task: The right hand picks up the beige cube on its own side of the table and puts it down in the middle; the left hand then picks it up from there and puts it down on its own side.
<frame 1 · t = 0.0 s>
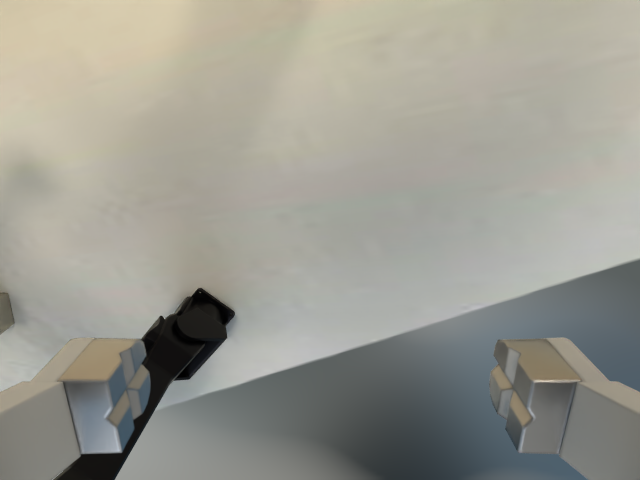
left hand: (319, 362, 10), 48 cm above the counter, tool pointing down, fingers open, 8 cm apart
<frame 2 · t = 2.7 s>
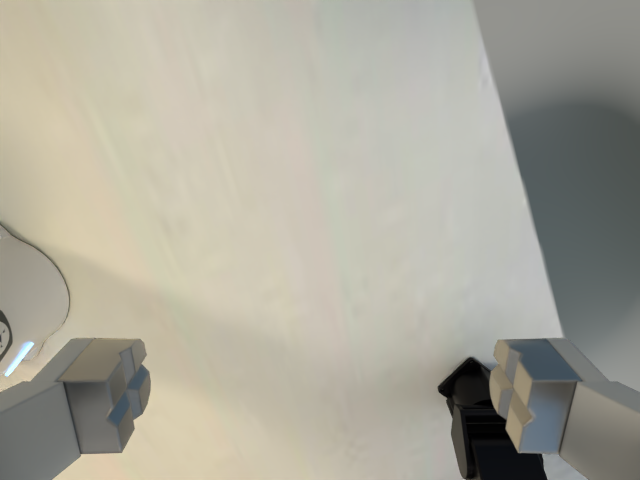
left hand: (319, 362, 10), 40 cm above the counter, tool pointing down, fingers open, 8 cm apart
when the right hand's fingers open (2 cm above the counter, at t = 6.4 s): beige cube stays where it is, on the counter.
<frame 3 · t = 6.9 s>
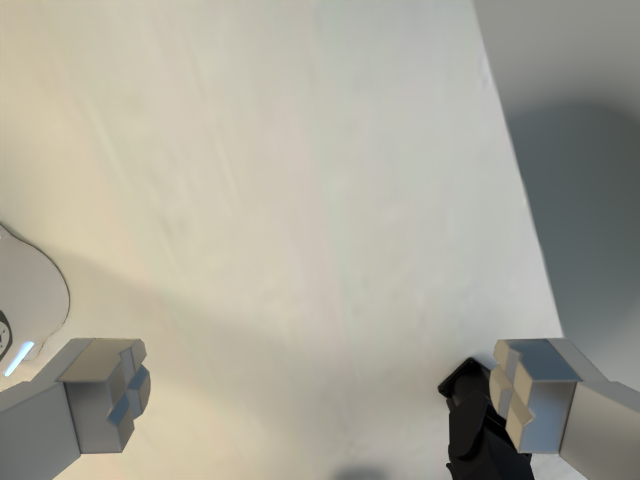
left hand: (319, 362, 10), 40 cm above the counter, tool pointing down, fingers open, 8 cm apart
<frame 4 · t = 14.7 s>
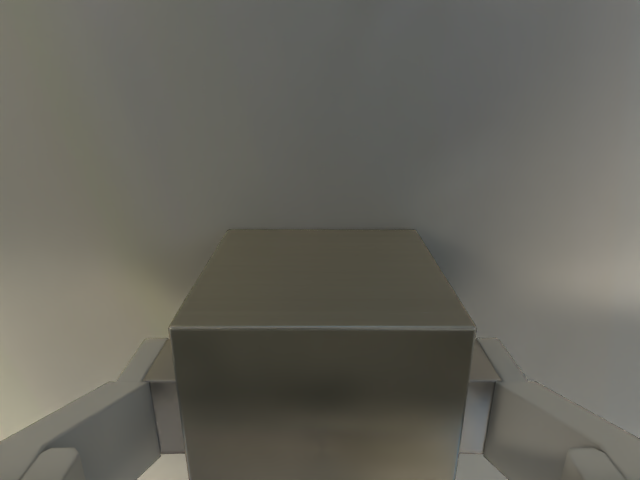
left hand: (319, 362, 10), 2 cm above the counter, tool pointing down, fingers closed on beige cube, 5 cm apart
beige cube: (321, 313, 12), on the counter, touching left hand
when the left hand's fingers open (3 cm above the counter, at t = 22.4 s): beige cube stays where it is, on the counter.
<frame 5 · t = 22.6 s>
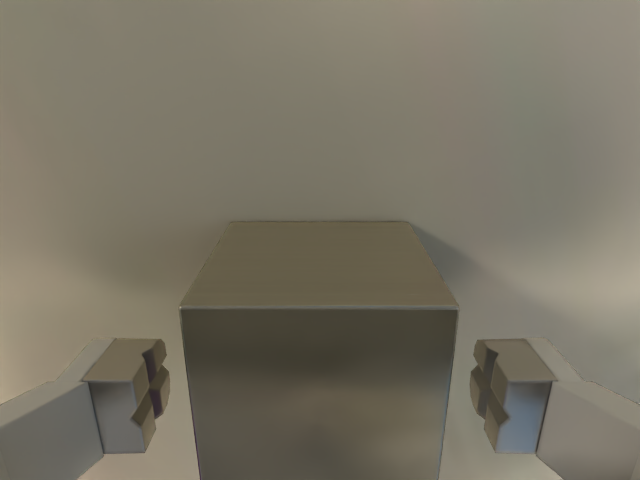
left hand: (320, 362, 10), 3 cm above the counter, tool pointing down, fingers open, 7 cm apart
beige cube: (319, 301, 13), on the counter
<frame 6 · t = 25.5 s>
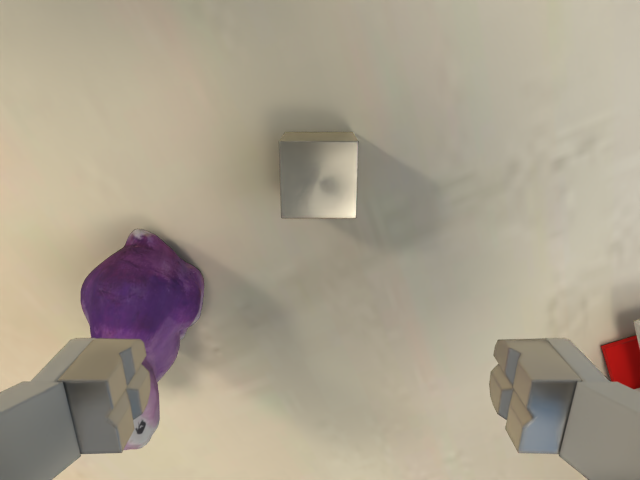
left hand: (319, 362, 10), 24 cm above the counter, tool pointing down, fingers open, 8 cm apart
figurine: (163, 293, 36), on the counter
beige cube: (318, 166, 33), on the counter
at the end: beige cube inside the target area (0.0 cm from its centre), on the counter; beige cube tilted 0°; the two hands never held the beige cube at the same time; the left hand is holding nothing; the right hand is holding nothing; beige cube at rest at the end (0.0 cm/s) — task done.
